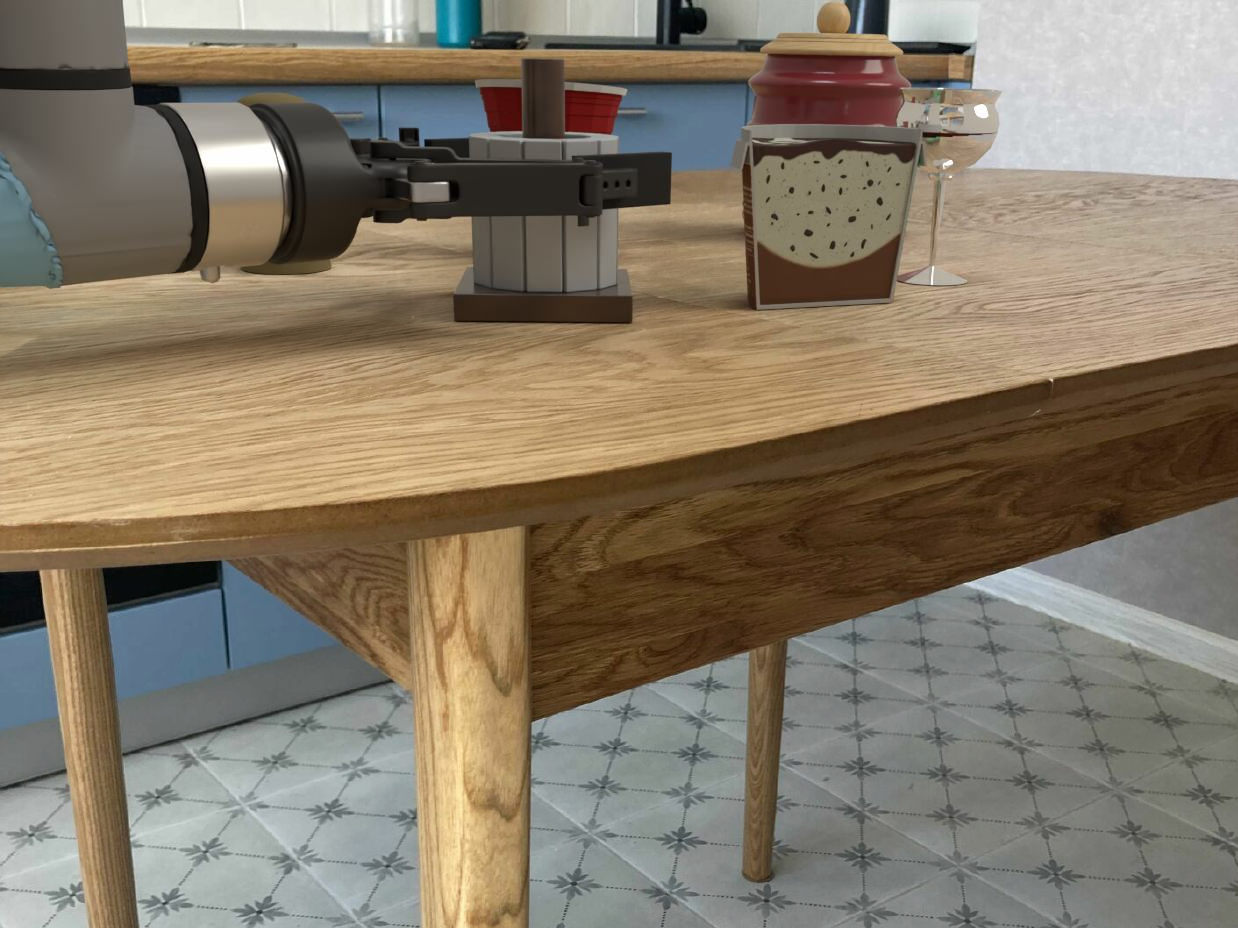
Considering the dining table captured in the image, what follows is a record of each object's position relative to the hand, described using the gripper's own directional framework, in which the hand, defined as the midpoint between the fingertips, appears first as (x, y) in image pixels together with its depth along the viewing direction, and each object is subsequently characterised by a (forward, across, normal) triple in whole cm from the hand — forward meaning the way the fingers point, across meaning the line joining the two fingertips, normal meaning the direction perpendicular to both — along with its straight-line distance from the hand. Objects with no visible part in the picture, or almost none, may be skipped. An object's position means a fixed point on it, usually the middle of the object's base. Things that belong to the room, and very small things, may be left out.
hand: (587, 168), depth 79 cm
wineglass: (+24, +8, -8) cm, 27 cm away
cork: (-8, -22, -8) cm, 25 cm away
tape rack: (-3, 0, -8) cm, 8 cm away
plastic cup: (+11, -17, -8) cm, 22 cm away
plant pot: (-3, 0, -6) cm, 7 cm away
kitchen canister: (+36, -13, -8) cm, 39 cm away
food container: (+11, +7, -8) cm, 16 cm away
